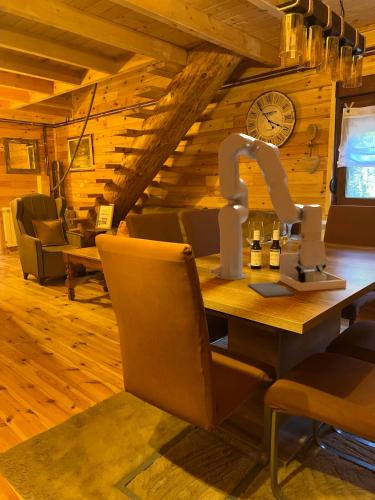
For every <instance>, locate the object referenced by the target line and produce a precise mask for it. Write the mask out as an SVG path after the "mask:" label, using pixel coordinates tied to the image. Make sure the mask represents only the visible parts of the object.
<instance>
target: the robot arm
mask: <svg viewBox="0 0 375 500" xmlns="http://www.w3.org/2000/svg"><path fill="white" fill-rule="evenodd" d="M239 156H241V157H244V158H247V159H250V160H253V161H254V162H256V163H257V166H258V168H259V170H260V172H261V174H262V176H263V179H264V182H265V183H266V186H267V191H268V194H269V198H270V201H271V204H272V207H273V209H274V211H275V213H276V215H277V218H278V219H279V221H280V222H281V223H283V224H284V225H288V226H289V225H293V224H296V223H301V227H300V228H301V231H300V233H299V234H298V235H297V236H298V238H299V239H300V240H299V242H298V245H297V246H298V247H297V251H296V253H297V258H296V259H295V260H294V261H293V262H292V263H291V264H292V265H293V267H294V268H295V269H296V270H297V271H298V272H299V276H298V279H299V281H298V282H300V283H304V282H305V273H303V272H304V269H305V267H309V266H316V269H317V270H316V271H319V272H321V273H322V271H324V270H325V268H326V267H327V266H328V264H329V263H330V260H329V259H328V258H327V256H326V248H325V241H324V240H323V239H322V235H323V234H322V231H323V230H322V229H323V207H322V205H320V204H304V205H303V204H297V203H296V204H295V203H294V201H293V199H292V196H291V194H290V190H289V176H288V174H287V171H286V169H285V166H284V165H283V162H282V160H281V151H280V148H278V147H277V145H274V144H272V143H270V142H269V143H268V142H265V141H264V140H260V139H257V138H254V137H252V136H249V135H246V134H244V133H241V132H239V133H238V132H235V133H231V134H229V135H227V136H226V137H225V139H223V141H222V142H221V144H220V146H219V149H218V154H217V158H218V160H217V162H218V183H219V184H218V185H219V186H218V187H219V194H220V195H219V196H220V197H221V198H222V199H224V200H225V201H227V204H225V205H224V206H222V207H221V208H220V210H219V212H218V216H217V220H218V226H219V244H220V245H219V247H220V248H219V249H220V250H219V251H220V253H219V256H220V265H218V267H216V268H209V273H210V274H215V275H216V278H218V279H220V280H224V281H225V280H226V281H227V280H228V281H236V280H237V281H238V280H243V279H245V278H246V277H247V274H246V273H245V272H243V228H242V224H243V223H245V222H246V221H247V219H248V218H249V211H250V210H249V209H250V206H249V190H248V185H247V183H246V181H244V180H243V179H241V176H240V164H239ZM297 264H299V266H297Z"/></svg>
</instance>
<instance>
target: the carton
mask: <svg viewBox="0 0 375 500" xmlns="http://www.w3.org/2000/svg"><path fill="white" fill-rule="evenodd" d="M296 258H297V252H294V253H292V252H291V253H279V282H282V283H284V284H286V285H287V286H289V287H291V288H293V289H295V290H297V291H299V292H309V291H311V292H312V291H319V290H332V289H333V290H334V289H346V288H347V279H345V278H342V277H339V276H337V275H335V274H332V273H329V272H326V271H324V270H323V271H322V273H324V274H326V281H319V282H306V283H301V282H299V281H297V274H298V271H297V270H296V269H295V268H294V267H293V265H292V264H291V263H292V262H293V261H294V260H295V259H296ZM297 266H299V264H297ZM305 268H311V269H314V270H317V269H316V266H309V267H305Z"/></svg>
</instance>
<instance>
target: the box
mask: <svg viewBox="0 0 375 500" xmlns="http://www.w3.org/2000/svg"><path fill="white" fill-rule="evenodd" d="M303 273H305V282H304V283H306V282H319V281H327V280H326V274H324V273H321V272H319V271H316V270H314V269H311V268H305V269H304V272H303ZM298 276H299V272H298V274H297V280H296V281H298V282H299V279H298Z"/></svg>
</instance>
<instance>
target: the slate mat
mask: <svg viewBox="0 0 375 500" xmlns="http://www.w3.org/2000/svg"><path fill="white" fill-rule="evenodd" d="M247 286H248V287H249V288H251V289H252V290H253V291H255V292H257V293H258V294H259V295H261V296H263V297H264V298H276V297H277V298H278V297H279V298H280V297H288V296H289V297H290V296H295V293H294V292H292V291H291V290H289V289H287V288H286V287H284V286H282V285H280V284H279V283H276V282H275V281H271V282H258V283H249V284H247Z"/></svg>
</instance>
